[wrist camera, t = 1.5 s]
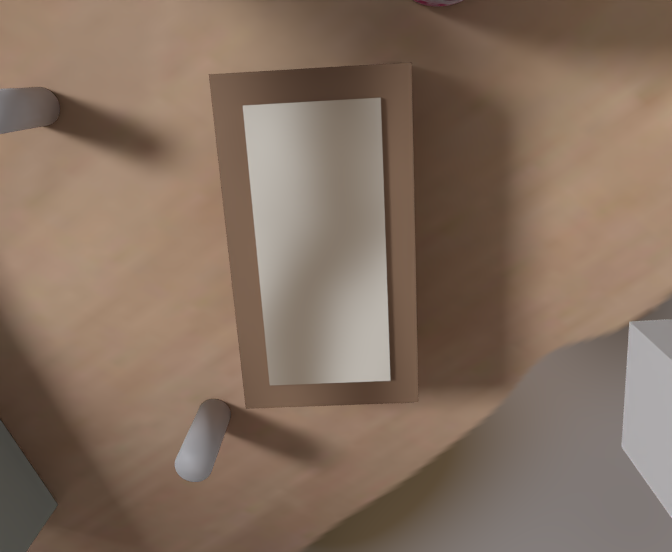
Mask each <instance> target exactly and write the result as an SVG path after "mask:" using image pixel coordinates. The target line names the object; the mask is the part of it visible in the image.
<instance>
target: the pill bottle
mask: <svg viewBox="0 0 672 552" xmlns="http://www.w3.org/2000/svg"><path fill="white" fill-rule="evenodd" d="M413 1H415V2H417V3H420V4H423V5H427V6H437V7H438V6H448V5H453V4H456V3H459V2H461V1H463V0H413Z"/></svg>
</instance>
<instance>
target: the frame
mask: <svg viewBox="0 0 672 552" xmlns="http://www.w3.org/2000/svg"><path fill="white" fill-rule="evenodd" d="M209 80H210V89H211V98H212V107H213V116H214V125H215V134H216V143H217V152H218V161H219V171H220V180H221V189H222V198H223V207H224V216H225V225H226V234H227V243H228V252H229V261H230V270H231V279H232V288H233V297H234V306H235V315H236V324H237V333H238V342H239V351H240V360H241V369H242V378H243V387H244V396H245V405H246V409H250V408H276V407H303V406H330V405H356V404H383V403H409V402H418V355H417V307H416V258H415V209H414V160H413V111H412V62H409V63H393V64H376V65H359V66H343V67H326V68H309V69H293V70H276V71H259V72H243V73H226V74H209Z"/></svg>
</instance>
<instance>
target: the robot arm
mask: <svg viewBox="0 0 672 552" xmlns="http://www.w3.org/2000/svg"><path fill="white" fill-rule="evenodd" d="M621 447H622V448H623V450H624V451H625V453H626V454H627V456H628V457H629V458H630V460H631V461H632V463H633V464H634V466H635V467H636V468H637V470H638V471H639V473H640V474H641V475H642V477H643V478H644V479H645V481H646V482H647V484H648V485H649V487H650V488H651V490H652V491H653V492H654V494H655V495H656V497H657V498H658V499H659V501H660V502H661V504H662V505H663V507H664V508H665V509H666V511H667V512H668V514H669V515H670V516H671V518H672V320H670V319H667V320H649V321H632V322H630V323H629V338H628V354H627V370H626V384H625V400H624V415H623V429H622V445H621Z"/></svg>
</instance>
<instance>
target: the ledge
mask: <svg viewBox="0 0 672 552" xmlns="http://www.w3.org/2000/svg"><path fill="white" fill-rule="evenodd" d="M59 113H60V105H59V102H58V99H57V98H56V96H55V95H54V94H53V93H52V92H51V91H50V90H48V89H46V88H43V87H29V88H9V89H0V134H3V133H8V132H14V131H20V130H25V129H31V128H36V127H42V126H47V125H50V124H52V123H54V122H55V121H56V120H57V118H58V116H59ZM230 417H231V411H230V409H229V407H228V406H227V404H226V403H224V402H223V401H221V400H218V399H209V400H206V401H205V402H203V403H202V404H201V405H200V407H199V409H198V412H197V414H196V416H195V418H194V420H193V423H192V425H191V427H190V429H189V431H188V434H187V436H186V438H185V440H184V442H183V444H182V447H181V449H180V451H179V453H178V455H177V458H176V460H175V469H176V471H177V473H178V474H179V475H180V476H181V477H182V478H183V479H185V480H187V481H191V482H199V481H203V480H205V479H206V478H207V477H208V476H209V475H210V474H211V471H212V468H213V466H214V463H215V460H216V457H217V454H218V452H219V449H220V446H221V443H222V440H223V437H224V435H225V432H226V429H227V426H228V423H229V420H230ZM57 506H58V504H57V503H56V501H55V500H54V498H53V497H52V495H51V494H50V492H49V491H48V489H47V488H46V486H45V485H44V484H43V482H42V481H41V479H40V478H39V476H38V475H37V473H36V472H35V470H34V469H33V467H32V466H31V464H30V463H29V461H28V460H27V458H26V457H25V455H24V454H23V452H22V451H21V449H20V448H19V447H18V445H17V444H16V442H15V441H14V439H13V438H12V436H11V435H10V433H9V432H8V430H7V429H6V427H5V426H4V424H3V423H2V421H1V420H0V552H26V551H27V550H28V548H29V547H30V545H31V544H32V542H33V541H34V539H35V538H36V536H37V535H38V534H39V532H40V531H41V529H42V528H43V526H44V525H45V523H46V522H47V520H48V519H49V517H50V516H51V514H52V513H53V511H54V510H55V509H56V507H57Z"/></svg>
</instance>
